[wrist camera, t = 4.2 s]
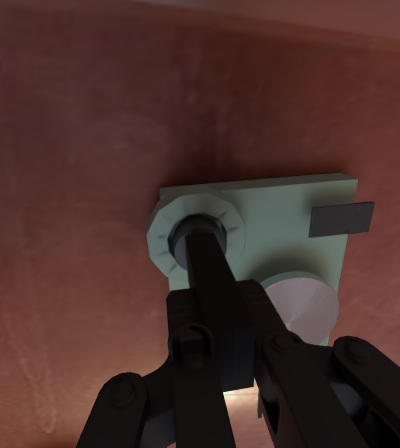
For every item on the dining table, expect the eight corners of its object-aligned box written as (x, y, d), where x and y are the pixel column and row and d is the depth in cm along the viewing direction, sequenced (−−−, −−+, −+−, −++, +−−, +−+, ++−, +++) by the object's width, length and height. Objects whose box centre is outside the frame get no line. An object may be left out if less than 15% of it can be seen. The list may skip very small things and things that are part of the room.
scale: (143, 181, 19) (141, 198, 15) (342, 165, 20) (377, 178, 17) (166, 362, 25) (168, 400, 22) (314, 339, 27) (336, 371, 24)
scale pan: (237, 214, 17) (241, 219, 16) (372, 201, 18) (382, 205, 17) (235, 357, 21) (238, 366, 21) (342, 341, 22) (349, 349, 22)
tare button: (170, 218, 17) (171, 229, 15) (220, 213, 17) (227, 224, 15) (174, 262, 18) (176, 276, 16) (221, 257, 18) (227, 270, 17)
